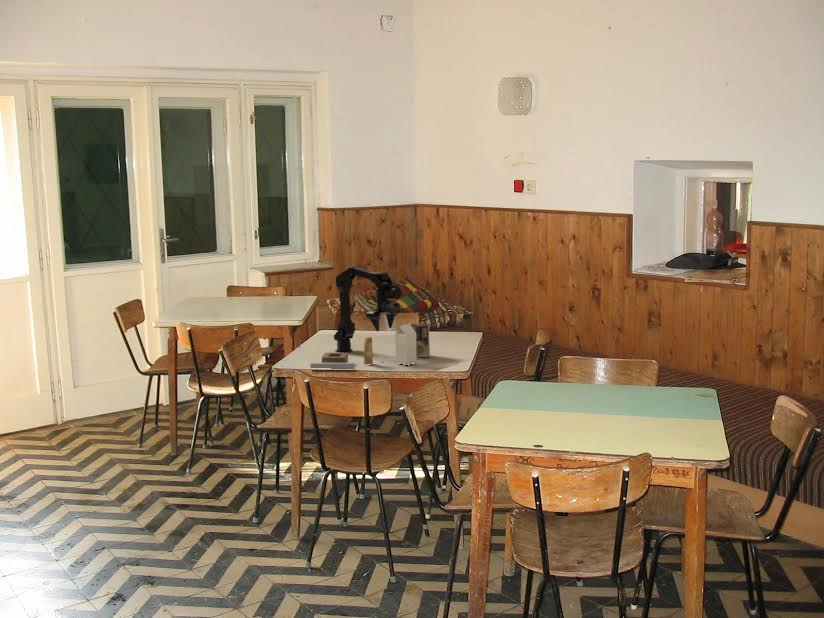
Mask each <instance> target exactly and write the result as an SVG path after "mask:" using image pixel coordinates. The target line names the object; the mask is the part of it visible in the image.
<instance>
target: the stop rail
mask: <svg viewBox="0 0 824 618" xmlns="http://www.w3.org/2000/svg"><path fill="white" fill-rule="evenodd" d="M354 364H355V363H354V362H348V363H322V362H311V363H310V365H309V366H310V369H311V368H331V369H354V370H355V366H354Z"/></svg>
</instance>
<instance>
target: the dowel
mask: <svg viewBox="0 0 824 618" xmlns="http://www.w3.org/2000/svg"><path fill="white" fill-rule="evenodd" d="M363 361H364V362H363V364H372V363H373V361H374V360H373V337H371V336H364V337H363ZM373 364H374V363H373Z"/></svg>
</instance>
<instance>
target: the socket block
mask: <svg viewBox="0 0 824 618" xmlns="http://www.w3.org/2000/svg"><path fill="white" fill-rule="evenodd" d="M347 362H348V363H349V352H345V353H343V352H325V353H324V354H323V355H322V357H321V363H347Z"/></svg>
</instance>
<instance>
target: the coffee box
mask: <svg viewBox="0 0 824 618" xmlns="http://www.w3.org/2000/svg"><path fill="white" fill-rule="evenodd" d="M410 324H411V327H412V328H413V329H414V331H415V332H416V355H417V357H429V358H430V357H431V353H430V349H431V348H430V324H429V323H410Z"/></svg>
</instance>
